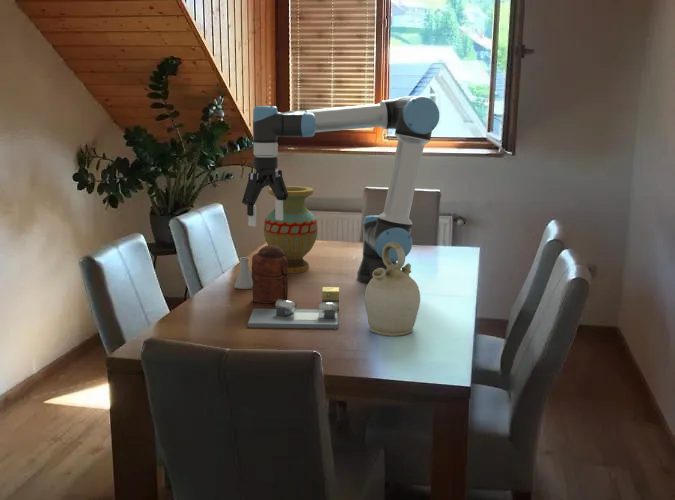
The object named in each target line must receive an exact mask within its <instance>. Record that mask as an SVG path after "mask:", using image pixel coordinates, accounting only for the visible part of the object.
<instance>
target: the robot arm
mask: <svg viewBox="0 0 675 500" xmlns="http://www.w3.org/2000/svg"><path fill="white" fill-rule="evenodd" d="M439 121H440V110H439V106H438V105H437V104H436V102H435V101H433V99H431V98H430V97H427V96H424V95H418V94H417V95H416V94H415V95H404V96H401V97H397V98H393V99H386V100H385V99H384V100H380V102H379V103H376V104H373V103H372V104H365V105H364V104H363V105H353V106H351V105H350V106H339V107H330V108H329V107H327V108H318V109H317V108H316V109H306V110H294V111H293V110H288V111H285V112H280V111H278V107H277V106H276V105H256V106H254V108H253V113H252V134H253V136H252V139H253V140H252V141H253V155H254V156H253V168H254V169H255V172H249V173H248V179H247V180H248V181H247V184H246V187H245V190H244V194H243V197H242V200H241V202H242V204H243V205H245V206H246V210H247V212H246V215H247V221H248V223H247V224H248V226H249V227H257V224H258V223H257V205H255V204H256V202H257V200H258V198H259V196H260V194H261V192H262V189H263V188H265V187H268V186H269V188H271V189H272V191H273V193H274V194H275V196H276V197H275V196H274V197H275V198H276V199H275V201H274V202H275V205H274V207H275V208H274V209H275V220H283V209H284V200H286V199H287V197H288V193H287V189H286V184H285V181H284V178H283V170H282V169H278V165H279V164H278V157H277V156H278V153H279V151H278V147H279V146H278V138H284V137H285V138H308V137H309V138H313V137H314V136H315V134H316V133H324V132H335V131H336V132H337V131H348V130H357V129H358V130H359V129H367V128H368V129H369V128H370V129H371V128H379V127H380V128H381V129H382V130H390V129H391V130H395V131H394V136H395V138H397V144H396V149H395V155H394V159H393V165H392V169H391V174H390V178H389V185H388V188H387V193H386V199H385V203H384V206H383V207H384V209H383V212H382V213H380V214H377V215H374V214H373V215H366V216H364V219H363V224H362V226H363V228H362V229H363V230H362V231H363V236H362V237H363V238H362V259H361V262H360V264H359V266H358V267H359V268H358V270H357V272H356V274H357V275H356V276H357V278H356V280H358V281H359V282H361V283H364V284H368V283H369V282H370V280H371V279H372V278H373V276H372V273H373V271H374V270H376V269H378V268H384V269H385V270H386V269H387V267H386V265H385V264H384V262H383V259H382V251H383V248H384V246H385V245H386V244H388V243H390V242H396V243H398V244H399V245H400V246H401V247H402V248H403V250H404V253H405V258H406V257H407V256H408V255H409V254H410V252H411V250H412V248H413V239H412V236H411V233H412V232H411V231H412V227H413V222H412V220H411V219H410V213H411V210H412V209H411V208H412V204H413V200H414V195H415V190H416V187H417V181H418V177H419V172H420V167H421V163H422V157H423V153H424V152H423V151H424V147H425V145H426V144H428V143H430V141H431V138H432V133H433V130H435V128H436V127H437V126H438V124H439ZM277 199H278V200H277ZM389 258H390V261H391V262H392V263H393V264H395V265H396V264H397V262H398V256H397V252H396V251H395V250H394V248H391V249H390V251H389Z"/></svg>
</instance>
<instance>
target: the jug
mask: <svg viewBox="0 0 675 500" xmlns="http://www.w3.org/2000/svg"><path fill="white" fill-rule="evenodd" d="M391 248H394V250H395V251H396V252H397V256H398V261H396V262H397V264H396V265H395V264H393V263H392V262H391V261H390V258H389V251H390V249H391ZM382 259H383V262H384V264H385V265H386V267H387V269H386V270H385V269H384V268H378V269H376V270H374V271H373V273H372V276H373V278H372V279H371V280H370V282H369V283H367V286H366V288H365V291H364V305H365V310H366V317H367V323H368V328H369V331H371V332H372V333H373V334H374V333H375V334H376V335H381V336H387V337H401V336H405V335H409V334H410V333H412V332H413V330H414V327H415V323H416V319H417V316H418V313H419V310H420V309H419V308H420V305H421V292H420V288H419V286H418V284H417V282H416V280H415V279H413V278H412V277H411V276H410V274H411V273H412V270H411V269H412V265H411V264H410V263H406V257H405V253H404V250H403V248H402V247H401V246H400V245H399V244H398V243H396V242H390V243H388V244H386V245H385V246H384V248H383V251H382ZM405 263H406V264H405Z"/></svg>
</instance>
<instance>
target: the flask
mask: <svg viewBox="0 0 675 500" xmlns="http://www.w3.org/2000/svg"><path fill="white" fill-rule="evenodd" d="M249 260H250V257H246V256H245V257H244V256H243V257H242V256H241V257H239V261H240V266H239V267H240V268H239V270H238V274H237V276H236V280H235V283H234V287H233V288H234V289H237V290H238V289H239V290H249V289H250V290H251V289H252V286H253V280H252V272H251V270H250V267H249Z"/></svg>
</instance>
